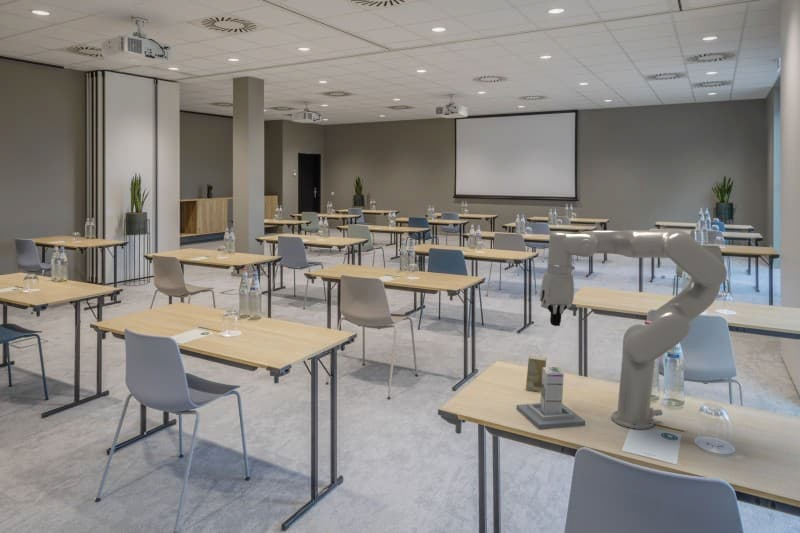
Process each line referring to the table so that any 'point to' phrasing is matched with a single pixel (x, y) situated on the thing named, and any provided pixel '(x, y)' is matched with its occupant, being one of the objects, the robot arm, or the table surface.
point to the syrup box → (551, 391)
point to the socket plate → (550, 417)
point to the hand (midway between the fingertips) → (555, 324)
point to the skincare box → (535, 372)
